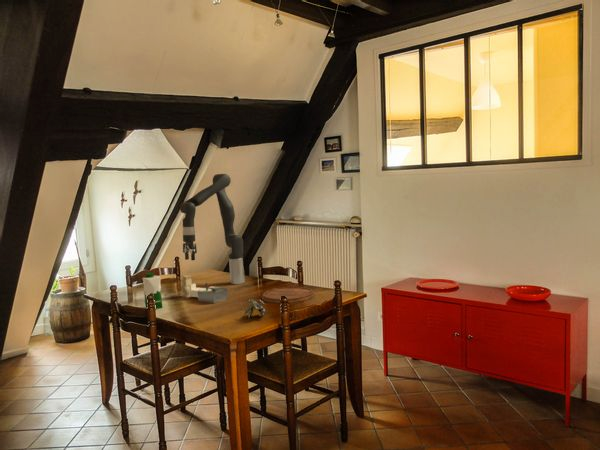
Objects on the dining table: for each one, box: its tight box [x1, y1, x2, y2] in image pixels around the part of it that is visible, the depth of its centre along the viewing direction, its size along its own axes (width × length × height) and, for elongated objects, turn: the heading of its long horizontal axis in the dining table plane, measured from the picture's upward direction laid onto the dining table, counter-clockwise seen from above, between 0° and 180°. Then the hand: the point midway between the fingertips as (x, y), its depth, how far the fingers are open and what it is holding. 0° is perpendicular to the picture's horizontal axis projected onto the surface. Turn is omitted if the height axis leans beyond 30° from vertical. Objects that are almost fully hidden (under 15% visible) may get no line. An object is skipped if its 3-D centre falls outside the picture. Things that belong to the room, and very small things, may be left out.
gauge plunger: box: [190, 282, 212, 298], centre depth 300 cm, size 14×7×8 cm, turn 56°
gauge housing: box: [197, 285, 229, 304], centre depth 294 cm, size 13×12×6 cm
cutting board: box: [260, 286, 316, 304], centre depth 293 cm, size 32×32×2 cm
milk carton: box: [142, 272, 163, 310], centre depth 282 cm, size 9×9×20 cm
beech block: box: [179, 274, 193, 298], centre depth 306 cm, size 5×5×13 cm
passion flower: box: [240, 299, 266, 319], centre depth 254 cm, size 11×11×12 cm
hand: (190, 259), depth 308 cm, fingers open, 8 cm apart
